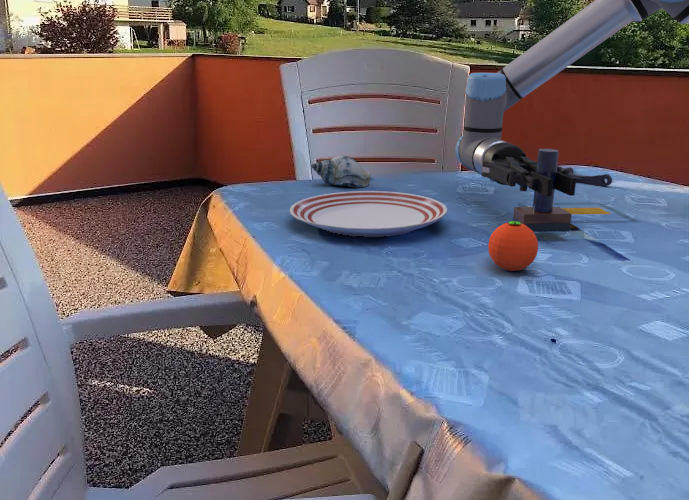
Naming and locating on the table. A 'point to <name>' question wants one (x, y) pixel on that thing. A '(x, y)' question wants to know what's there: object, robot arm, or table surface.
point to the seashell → (342, 172)
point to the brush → (544, 201)
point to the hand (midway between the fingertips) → (561, 187)
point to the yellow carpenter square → (584, 212)
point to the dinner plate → (369, 212)
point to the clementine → (513, 246)
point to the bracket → (591, 178)
